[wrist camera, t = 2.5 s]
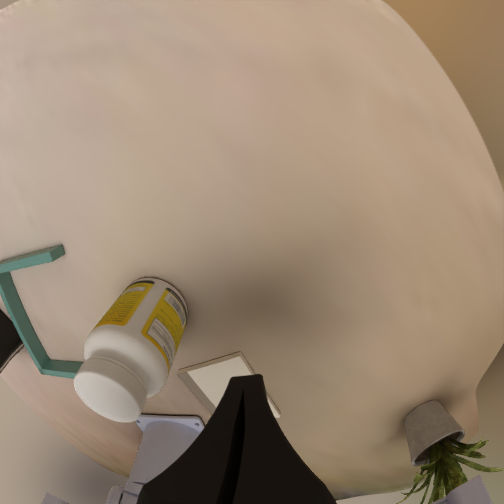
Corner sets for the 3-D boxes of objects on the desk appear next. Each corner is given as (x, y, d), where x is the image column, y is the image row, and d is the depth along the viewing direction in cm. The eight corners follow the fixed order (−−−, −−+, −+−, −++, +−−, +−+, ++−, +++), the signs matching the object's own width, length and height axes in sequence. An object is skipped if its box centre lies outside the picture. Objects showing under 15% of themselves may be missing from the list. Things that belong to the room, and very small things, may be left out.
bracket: (114, 369, 23) (107, 381, 22) (48, 364, 24) (41, 374, 22) (62, 244, 19) (49, 251, 17) (1, 260, 20) (-10, 267, 18)
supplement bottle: (118, 317, 21) (61, 399, 12) (134, 263, 20) (62, 340, 10) (176, 345, 22) (142, 441, 13) (200, 295, 20) (164, 395, 11)
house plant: (339, 449, 28) (361, 558, 12) (401, 375, 23) (464, 508, 8) (418, 444, 29) (450, 526, 13) (476, 377, 24) (533, 464, 9)
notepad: (280, 412, 25) (280, 417, 24) (226, 425, 26) (225, 430, 25) (240, 351, 22) (239, 356, 21) (178, 369, 23) (177, 374, 22)
